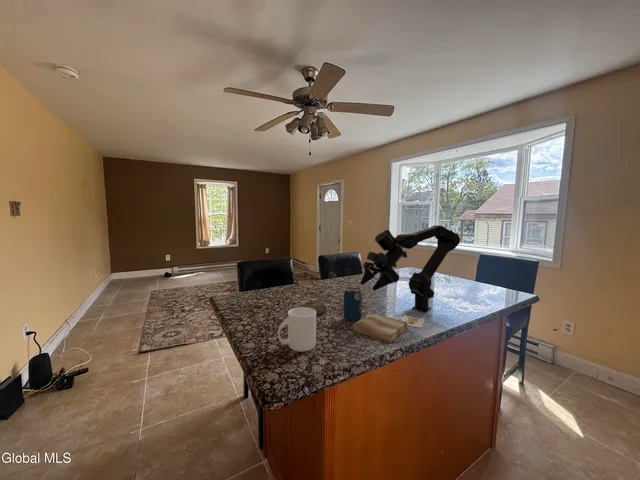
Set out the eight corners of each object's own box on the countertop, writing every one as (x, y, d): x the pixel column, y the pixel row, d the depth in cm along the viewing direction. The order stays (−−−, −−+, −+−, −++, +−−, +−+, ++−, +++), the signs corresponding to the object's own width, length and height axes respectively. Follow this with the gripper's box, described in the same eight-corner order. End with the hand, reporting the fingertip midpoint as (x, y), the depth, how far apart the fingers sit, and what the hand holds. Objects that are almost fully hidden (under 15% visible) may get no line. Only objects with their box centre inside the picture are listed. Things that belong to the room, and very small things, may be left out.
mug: (273, 344, 81) (273, 311, 80) (309, 337, 86) (309, 305, 85) (282, 357, 73) (282, 320, 72) (320, 348, 78) (320, 313, 78)
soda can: (364, 321, 100) (364, 291, 99) (347, 323, 98) (347, 292, 97) (356, 315, 106) (357, 286, 105) (340, 317, 104) (341, 287, 104)
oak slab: (372, 319, 102) (372, 313, 102) (407, 328, 93) (407, 321, 93) (353, 330, 91) (353, 323, 91) (390, 342, 82) (390, 334, 82)
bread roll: (314, 319, 102) (314, 307, 102) (291, 313, 110) (291, 301, 109) (332, 311, 112) (332, 299, 112) (310, 305, 120) (310, 294, 120)
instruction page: (404, 315, 106) (404, 315, 106) (425, 319, 102) (425, 318, 102) (398, 323, 98) (398, 323, 98) (421, 328, 94) (421, 327, 94)
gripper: (367, 243, 113) (343, 269, 110) (393, 246, 95) (366, 278, 92) (382, 260, 116) (359, 286, 113) (410, 267, 99) (385, 298, 96)
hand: (366, 286), depth 103 cm, fingers open, 9 cm apart
